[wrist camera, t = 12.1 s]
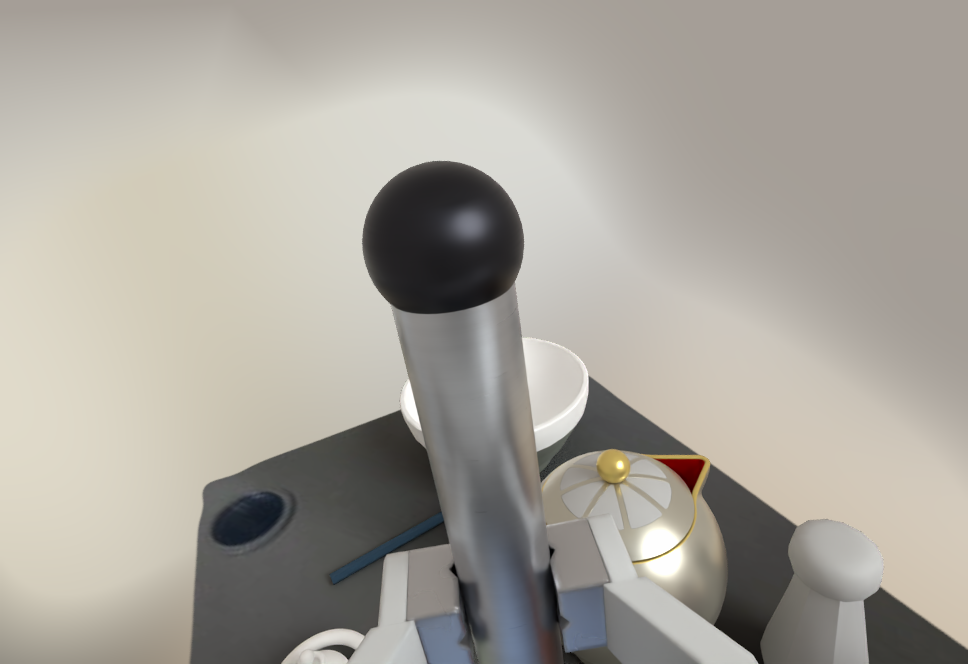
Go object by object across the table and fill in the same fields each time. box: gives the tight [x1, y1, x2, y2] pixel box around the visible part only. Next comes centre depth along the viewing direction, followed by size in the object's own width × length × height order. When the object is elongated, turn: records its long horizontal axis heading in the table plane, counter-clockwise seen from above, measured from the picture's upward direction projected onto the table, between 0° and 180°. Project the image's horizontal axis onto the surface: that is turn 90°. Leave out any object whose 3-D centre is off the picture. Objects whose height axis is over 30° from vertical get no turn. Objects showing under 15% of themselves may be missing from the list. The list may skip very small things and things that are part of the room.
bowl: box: [400, 337, 588, 473], centre depth 56 cm, size 20×20×10 cm
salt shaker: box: [760, 519, 884, 664], centre depth 31 cm, size 6×6×13 cm
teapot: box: [541, 449, 728, 664], centre depth 35 cm, size 18×14×16 cm
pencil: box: [329, 511, 444, 584], centre depth 49 cm, size 1×1×15 cm
